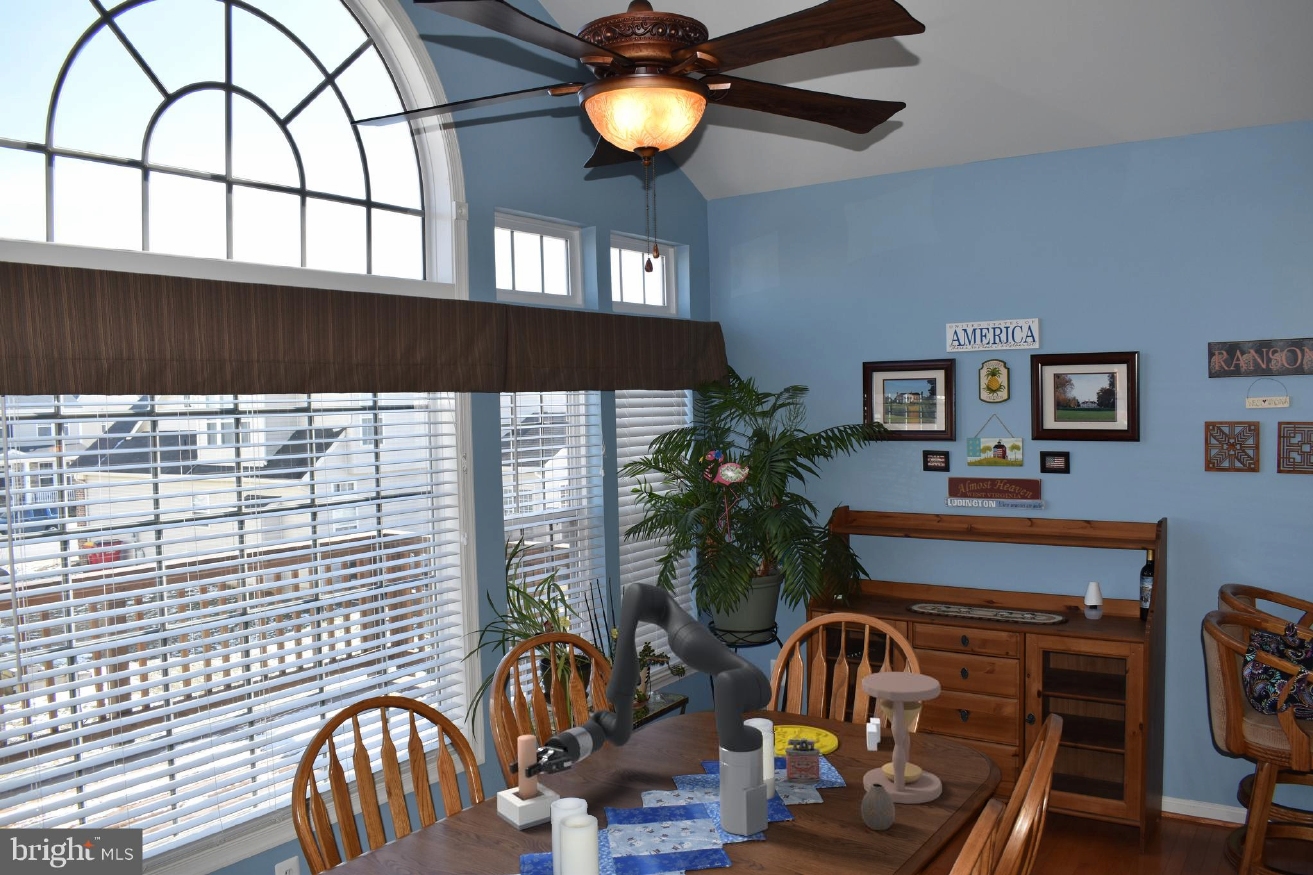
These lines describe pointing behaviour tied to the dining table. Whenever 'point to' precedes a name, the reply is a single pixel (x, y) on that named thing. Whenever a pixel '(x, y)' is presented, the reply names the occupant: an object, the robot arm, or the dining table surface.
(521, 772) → the peg
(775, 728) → the decorative medallion
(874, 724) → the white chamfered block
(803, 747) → the lighter
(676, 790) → the dining table surface
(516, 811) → the bore block
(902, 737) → the hourglass
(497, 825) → the dining table surface
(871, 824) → the vase
